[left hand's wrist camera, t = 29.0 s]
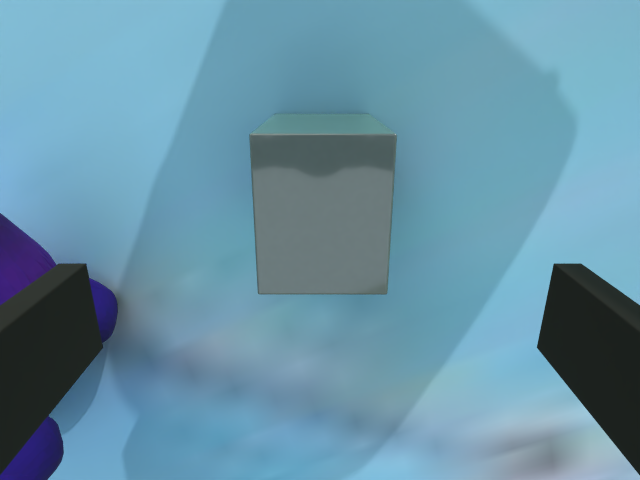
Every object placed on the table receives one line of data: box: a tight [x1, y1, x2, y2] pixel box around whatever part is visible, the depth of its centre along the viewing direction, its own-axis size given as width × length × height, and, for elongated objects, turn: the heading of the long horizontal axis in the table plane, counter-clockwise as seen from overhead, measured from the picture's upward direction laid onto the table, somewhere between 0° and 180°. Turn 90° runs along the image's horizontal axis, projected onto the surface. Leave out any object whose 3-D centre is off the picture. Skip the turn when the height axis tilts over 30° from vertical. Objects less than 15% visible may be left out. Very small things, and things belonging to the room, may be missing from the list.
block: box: [249, 114, 397, 294], centre depth 26 cm, size 6×8×11 cm
